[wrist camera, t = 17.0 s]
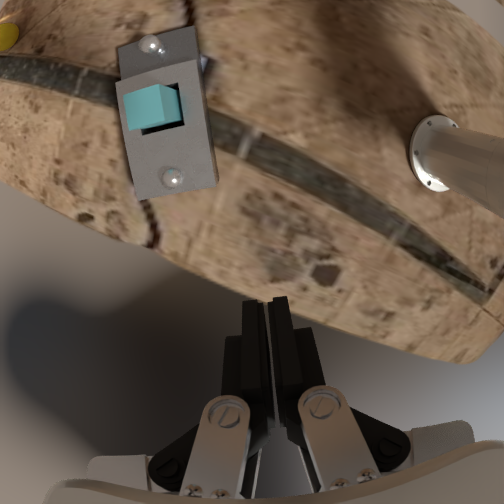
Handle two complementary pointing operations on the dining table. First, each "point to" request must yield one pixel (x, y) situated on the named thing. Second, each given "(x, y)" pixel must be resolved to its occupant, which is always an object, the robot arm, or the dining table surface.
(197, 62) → the grey slotted base
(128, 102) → the pin
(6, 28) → the lemon
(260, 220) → the dining table surface
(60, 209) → the dining table surface
